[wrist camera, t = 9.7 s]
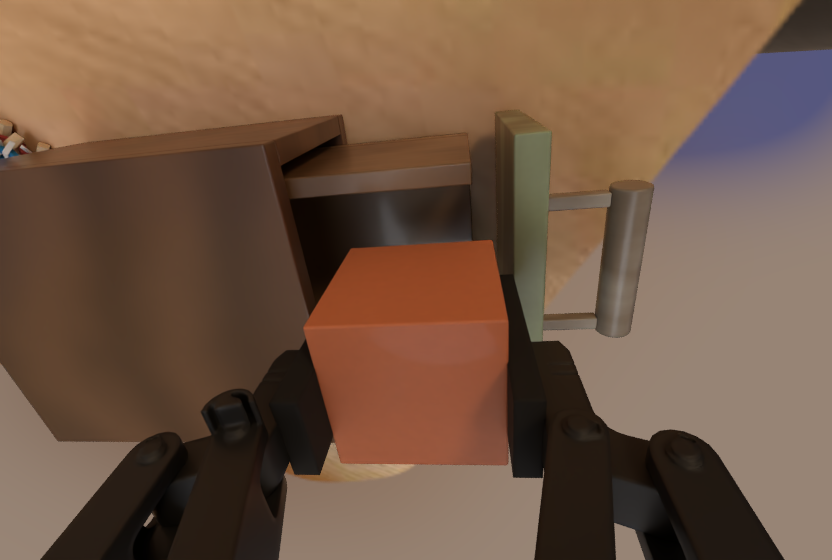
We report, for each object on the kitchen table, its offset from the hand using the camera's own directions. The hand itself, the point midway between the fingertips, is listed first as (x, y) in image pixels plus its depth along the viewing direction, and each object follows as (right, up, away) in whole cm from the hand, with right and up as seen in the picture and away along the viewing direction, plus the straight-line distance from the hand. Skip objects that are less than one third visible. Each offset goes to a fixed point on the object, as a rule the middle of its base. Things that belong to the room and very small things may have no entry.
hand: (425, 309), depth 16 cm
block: (0, 0, 0) cm, 0 cm away
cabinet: (-11, +4, +10) cm, 15 cm away
